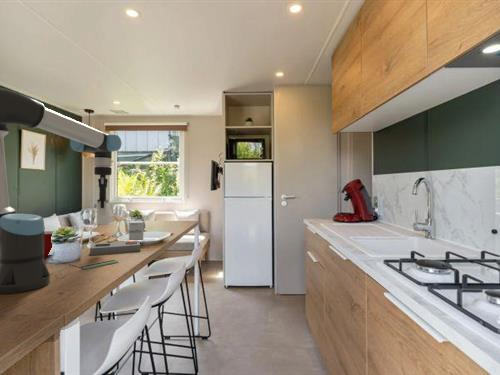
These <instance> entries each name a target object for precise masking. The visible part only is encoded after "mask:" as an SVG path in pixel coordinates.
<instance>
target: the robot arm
mask: <svg viewBox="0 0 500 375" xmlns="http://www.w3.org/2000/svg"><path fill="white" fill-rule="evenodd" d="M10 125H11V126H12V125H15V126H22V127H25V128H28V129H36V128H38V129H40V130H43V131H45V132H48V133H51V134H55V135H57V136H60V137H64V138H65V139H69V140H70V144H69V145H70V148H71V149H72V150H73V151H74V152H79V153H86V154H93V155H94V158H93V159H94V160H93V163H94V165H93V166H95V167H94V172H93V174H94V175H95V176H99V178H98V179H97V181H98V188H99V195H98V196H99V199H97V200H98V201H99V215H106V200H105V199H107V187H108V178H107V176H111V175H112V163H114V161H113V160H112V154H113V152H118V151H119V150H120V149H121V147H122V145H123V144H122V139H121V137H120V136H119V135H118V134H115V133H105V132H103V131H100V130H98V129H96V128H93V127H91V126H89V125H87V124H84V123H82V122H80V121H77V120H75V119H73V118H71V117H68V116H65V115H63V114H61V113H59V112H56V111H54V110H52V109H49V108H47V107H45V105H44V104H43V103H42V102H41V101H39V100H36V99H34V98H32V97H29V96H27V95H24V94H22V93H19V92H17V91H14V90H10V89H7V88H4V87H3V88H1V87H0V294H3V295H4V294H15V293H16V294H17V293H18V294H19V293H22V292H29V291H33V290H37V289H40V288H42V287H45V286H47V285H49V284H50V283H51V274H50V271H49V269H48V267H47V264H46V261H45V259H44V231H46V230H45V228H46V227H45V221H44V218H43V217H42V216H41V215H37V214H31V213H16V209H15V208H13V207H12V206H10V197H9V186H8V173H7V163H6V162H7V160H6V153H5V152H6V151H5V141H4V138H5V137H6V136H7V135H8V134H9V133H10V131H9V126H10Z"/></svg>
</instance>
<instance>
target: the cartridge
mask: <svg viewBox="0 0 500 375" xmlns="http://www.w3.org/2000/svg"><path fill="white" fill-rule="evenodd" d="M98 200H99V199H97V200H96V225H99V226H104V225H109V199H108V198H106V199H105V200H106V215H99V201H98Z"/></svg>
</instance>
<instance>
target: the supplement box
mask: <svg viewBox="0 0 500 375" xmlns="http://www.w3.org/2000/svg"><path fill="white" fill-rule="evenodd" d="M144 222H145V221H144V220H132V221H129V223H128V241H129V240H143V241H144V225H145V223H144Z"/></svg>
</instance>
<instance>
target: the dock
mask: <svg viewBox="0 0 500 375" xmlns="http://www.w3.org/2000/svg"><path fill="white" fill-rule="evenodd" d="M127 241H128V240H127ZM127 241H111V242H98V243H97V242H96V243H95V242H94V243H92V244H91V246H90V248H89V254H90V256H93V255H95V256H96V255H104V254H106V255H107V254H119V253H134V252H141V244H140V242H139V241H136V244H127Z"/></svg>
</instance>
